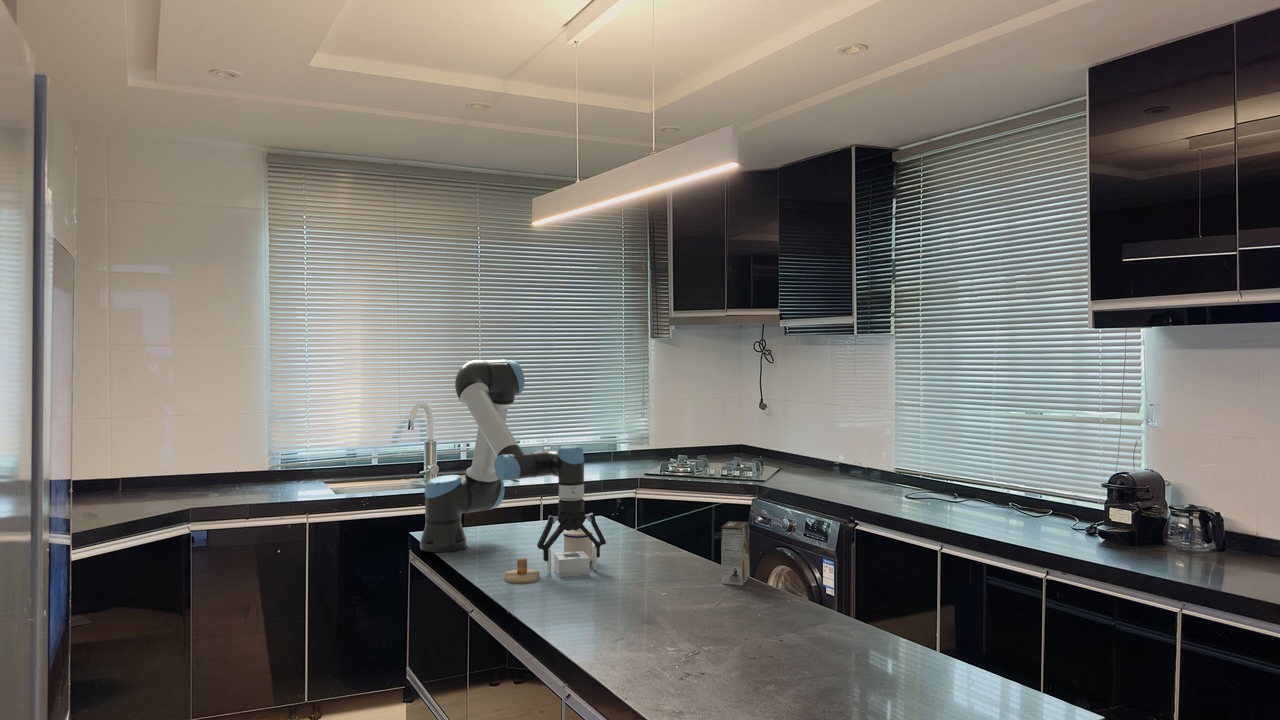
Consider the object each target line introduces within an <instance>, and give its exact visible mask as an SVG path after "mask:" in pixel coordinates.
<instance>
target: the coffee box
mask: <svg viewBox="0 0 1280 720" xmlns="http://www.w3.org/2000/svg"><path fill="white" fill-rule="evenodd" d="M720 530H721V531H720V532H721V533H720V537H721V538H720V540H721V543H720V544H721V547H720V548H721V549H720V551H721V553H720V555H721V562H720V563H721V575H720V576H721V577H720V578H721V584H723V585H724V584H725V585H733V586H735V585H737V586H743V585H744V584H745V583H746V582H747V581H748V579H749V578H750V576H751V575H750V522H749V521H737V520H735V521H734V520H727V522H726V523H725V524H724V525H722V526H721V528H720ZM747 577H749V578H747Z"/></svg>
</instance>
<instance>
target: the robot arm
mask: <svg viewBox="0 0 1280 720" xmlns="http://www.w3.org/2000/svg"><path fill="white" fill-rule="evenodd" d="M454 387H455V388H454V389H455V394H456V396H457V398H458V399H459V401H460V403H461V404H462V405H463V406H466V407H467V409H468V411H469V412H470V414H471V416H472V417H473V420H474V421H475V423H476V425H477V426H478V427H477V434H476V439H475V445H474V449H473V455H472V462H471V466H470V467H468V468H467V469H466V471H465V476H464V478H461V476H460V475H458V474H449V475H447V474H446V475H441V476H436V477H433V478H431V479H429V480H428V481H427V482H426V484H425V488H424V509H425V511H424V513H425V514H424V515H425V516H424V517H425V520H424V521H425V523H424V529H423V532H422V534H421V538H420V541H419V549H420V551H422V552H427V553H450V552H456V551H459V550H464V549H465V548H467V541H468V540H467V537H466V533H465V531H464V528H463V525H462V515H463V514H467V513H475V512H482V511H483V512H486V511H489V510H493V509H494V510H495V508H498V507H499V506H500V505H501V503H502V502H503V499H504V496H505V490H506V489H505V487H504V486H505V482H504V481H515V480H521V479H529V478H537V477H547V476H554V477H558V478H557V479H558V498H559V499H558V515H557V516H553V515H548V516H547V523H546V525H545V526H544V529H543V531H542V533H541V536H540V538H539V540H538V542H537V544H536V546H537V549H540V550H542V552H543V554H542V555H543V561H544V562H546V572H547V573H548V574H552V550H551V549H550V548H551V547H552V545H554V543H555V542H556V541H557V539H558V538H559V537H560V535H561V534H562V533H564V531H566V530H567V531H570V530H578V529H579V528H580V529H581V530H582V531H583V532H584V533H585V534H586V535H587V536H588V537H589V539H590V540H591V541H592V544H594V545H592V561H591V562H592V563H591V565H592V569H593V570H594V571H596V570H597V571H598V567H597V566H598V565H597V564H598V562H597V559H598V558H600V557H601V547H602V546H603V545H606V544H607V541H606V539H605V537H604V535H603V533H602V531H601V529H600V527H599V525H598V523H597V521H596V514H594V513H593V512H590V513H588V514H585V499H584V497H585V484H584V483H585V482H584V481H585V456H584V449H583V447H582V446H581V445H574V444H573V445H561V446H559V447H558V450H554V449H550V448H547V449H543V448H542V449H539V450H538V451H529V452H523V450H522V448H521V447H520V445H519V444H518V442H517V441H516V439H515V437H514V436H513V433H512V432H511V430H510V428H509V427H508V426H507V423H506V421H507V416H508V415H507V414H508V411H509V407H510V406H511V405H512V404H514V402H515V397H516V396H518V395H520V394H522V392H523V391H524V388H525V374H524V371H523V369H522V367H521V365H520V364H519V363H518V362H517V361H515V360H513V359H505V358H504V359H473V360H471V361H468V362H466V363H465V364H463V365H462V367H460V369H459V370H458V372H457V375H456V377H455V381H454ZM586 519H587V521H588V522H590V524H591V526H592V528H593V530H594V532H595V534H596V536H597V538H598V540H597V539H596V537H595V536H593V534H591V533H590V532H589V531H588V530H589V529H588V528H587V527H586V526H585V525H584V523H585V521H586ZM556 521H557V522H558V523H559V524H558V526H557V527H556V529H555V531H554V532H553V533H552V534H551V535H550V537H549V538H548V536H549V534H550V532H551V530H552V527H553V525H554V524H555V523H556ZM587 529H588V530H587ZM547 538H548V539H547ZM546 540H547V541H546Z"/></svg>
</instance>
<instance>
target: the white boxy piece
mask: <svg viewBox="0 0 1280 720" xmlns="http://www.w3.org/2000/svg"><path fill="white" fill-rule="evenodd" d="M590 563H591V562H590V558H589V556H588V555H587V554H586V553H585V552H584V551H574V552H564V551H561V552H559V551H558V552H553V570H554V572H555V573H556V575H557V577H559V578H565V577H579V576H590V575H591V570H590V569H591V566H590V565H591V564H590Z"/></svg>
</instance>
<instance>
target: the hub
mask: <svg viewBox="0 0 1280 720" xmlns="http://www.w3.org/2000/svg"><path fill="white" fill-rule="evenodd" d="M516 566H517V567H516V569H511V570H508V571H506V572H505V573H504V581H505V582H507V583H510V584H511V583H512V584H529V583H530V584H531V583H534V582H537V581H538V580H540V577H541V574H540V573H541V572H540V571H539V570H537V569H532V568H528V559H527V558H525V557H524V558H523V557H521V558H520V557H519V558H517V559H516Z"/></svg>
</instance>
